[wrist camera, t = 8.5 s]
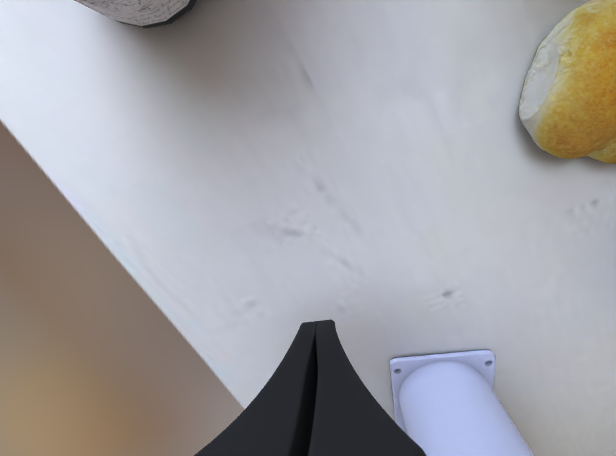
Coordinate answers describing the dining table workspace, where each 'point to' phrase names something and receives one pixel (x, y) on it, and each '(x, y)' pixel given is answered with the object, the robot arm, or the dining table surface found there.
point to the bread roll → (575, 86)
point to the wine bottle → (141, 10)
